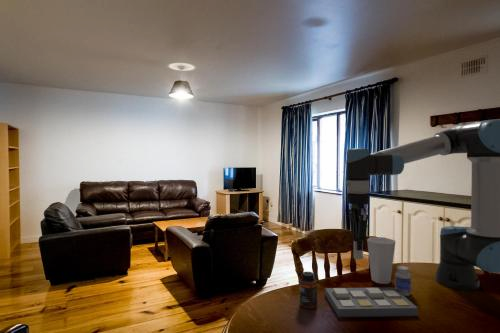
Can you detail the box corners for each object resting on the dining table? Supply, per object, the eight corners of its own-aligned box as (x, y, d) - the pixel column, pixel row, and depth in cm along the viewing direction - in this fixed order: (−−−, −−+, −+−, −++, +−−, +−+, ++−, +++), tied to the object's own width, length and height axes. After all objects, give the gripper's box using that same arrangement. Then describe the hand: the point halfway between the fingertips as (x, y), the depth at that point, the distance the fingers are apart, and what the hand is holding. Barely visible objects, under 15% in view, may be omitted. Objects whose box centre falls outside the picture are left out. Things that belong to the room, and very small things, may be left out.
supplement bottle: (318, 303, 109) (318, 271, 109) (316, 310, 103) (316, 277, 103) (301, 300, 111) (301, 269, 111) (298, 308, 105) (298, 275, 105)
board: (393, 294, 116) (393, 286, 116) (417, 315, 100) (417, 307, 100) (325, 295, 115) (325, 287, 115) (338, 316, 99) (338, 308, 99)
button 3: (361, 297, 112) (361, 290, 112) (366, 302, 107) (366, 296, 107) (349, 297, 112) (349, 290, 112) (353, 303, 107) (353, 296, 107)
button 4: (344, 294, 112) (344, 288, 111) (349, 300, 107) (349, 293, 107) (332, 294, 111) (332, 288, 111) (336, 300, 107) (336, 293, 107)
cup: (371, 274, 136) (372, 235, 136) (396, 279, 130) (397, 239, 130) (364, 282, 127) (365, 241, 127) (391, 288, 121) (391, 245, 121)
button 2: (377, 294, 112) (377, 287, 112) (383, 299, 107) (383, 292, 107) (365, 294, 112) (365, 287, 112) (370, 299, 107) (370, 293, 107)
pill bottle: (412, 296, 114) (413, 270, 113) (397, 295, 115) (397, 269, 114) (408, 290, 119) (408, 265, 119) (393, 289, 120) (393, 264, 120)
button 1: (393, 296, 112) (394, 290, 112) (400, 302, 107) (400, 295, 107) (382, 297, 112) (382, 290, 112) (387, 302, 107) (387, 295, 107)
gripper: (341, 190, 115) (341, 253, 116) (353, 194, 102) (354, 265, 102) (361, 190, 115) (361, 252, 116) (376, 194, 102) (376, 264, 103)
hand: (358, 258), depth 109 cm, fingers closed
